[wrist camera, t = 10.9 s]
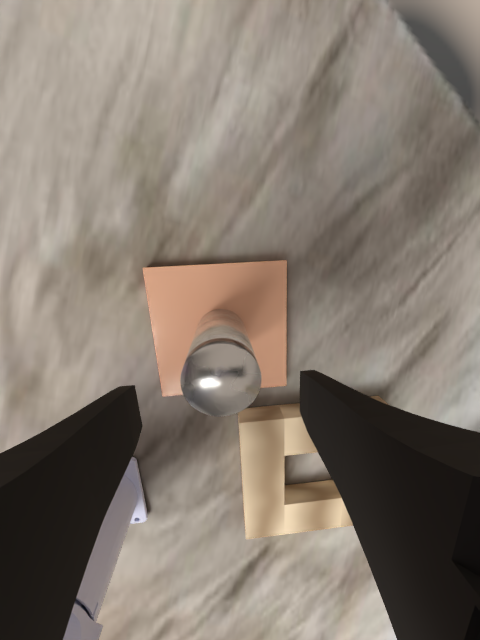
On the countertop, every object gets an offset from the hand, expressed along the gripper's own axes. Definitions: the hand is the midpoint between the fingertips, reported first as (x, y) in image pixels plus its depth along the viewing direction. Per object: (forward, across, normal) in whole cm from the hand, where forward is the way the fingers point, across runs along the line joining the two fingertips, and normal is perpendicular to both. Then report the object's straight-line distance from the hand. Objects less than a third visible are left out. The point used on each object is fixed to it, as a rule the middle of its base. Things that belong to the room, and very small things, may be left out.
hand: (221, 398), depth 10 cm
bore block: (+10, -8, +15) cm, 20 cm away
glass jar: (+9, 0, 0) cm, 9 cm away
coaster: (+10, 0, 0) cm, 10 cm away
